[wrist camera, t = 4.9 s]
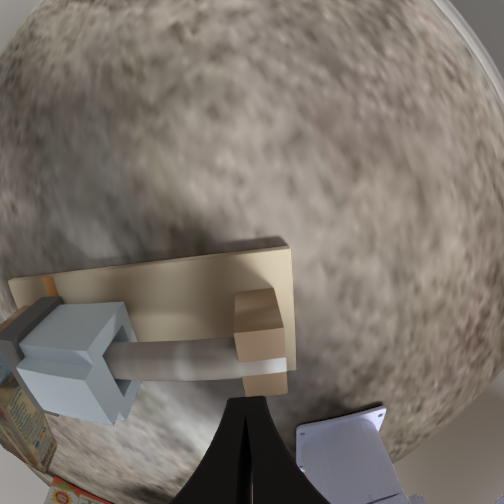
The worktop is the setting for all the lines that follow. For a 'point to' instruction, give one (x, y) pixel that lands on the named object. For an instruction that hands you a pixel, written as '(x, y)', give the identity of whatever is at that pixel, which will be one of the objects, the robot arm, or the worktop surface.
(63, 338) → the sleeve
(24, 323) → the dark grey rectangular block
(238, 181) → the worktop surface
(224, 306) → the pipe stand
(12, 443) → the beverage carton
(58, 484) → the cracker box
